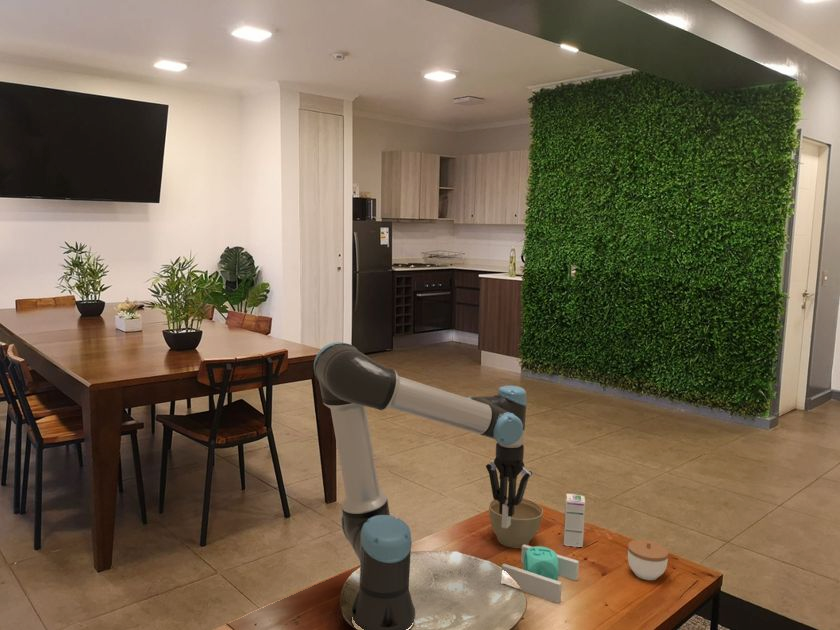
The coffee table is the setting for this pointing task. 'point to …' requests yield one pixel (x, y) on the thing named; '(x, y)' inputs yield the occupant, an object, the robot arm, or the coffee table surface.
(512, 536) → the planter bowl
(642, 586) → the coffee table surface
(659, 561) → the lidded jar
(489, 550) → the coffee table surface
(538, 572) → the decorative dice
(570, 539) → the syrup box
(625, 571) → the coffee table surface
